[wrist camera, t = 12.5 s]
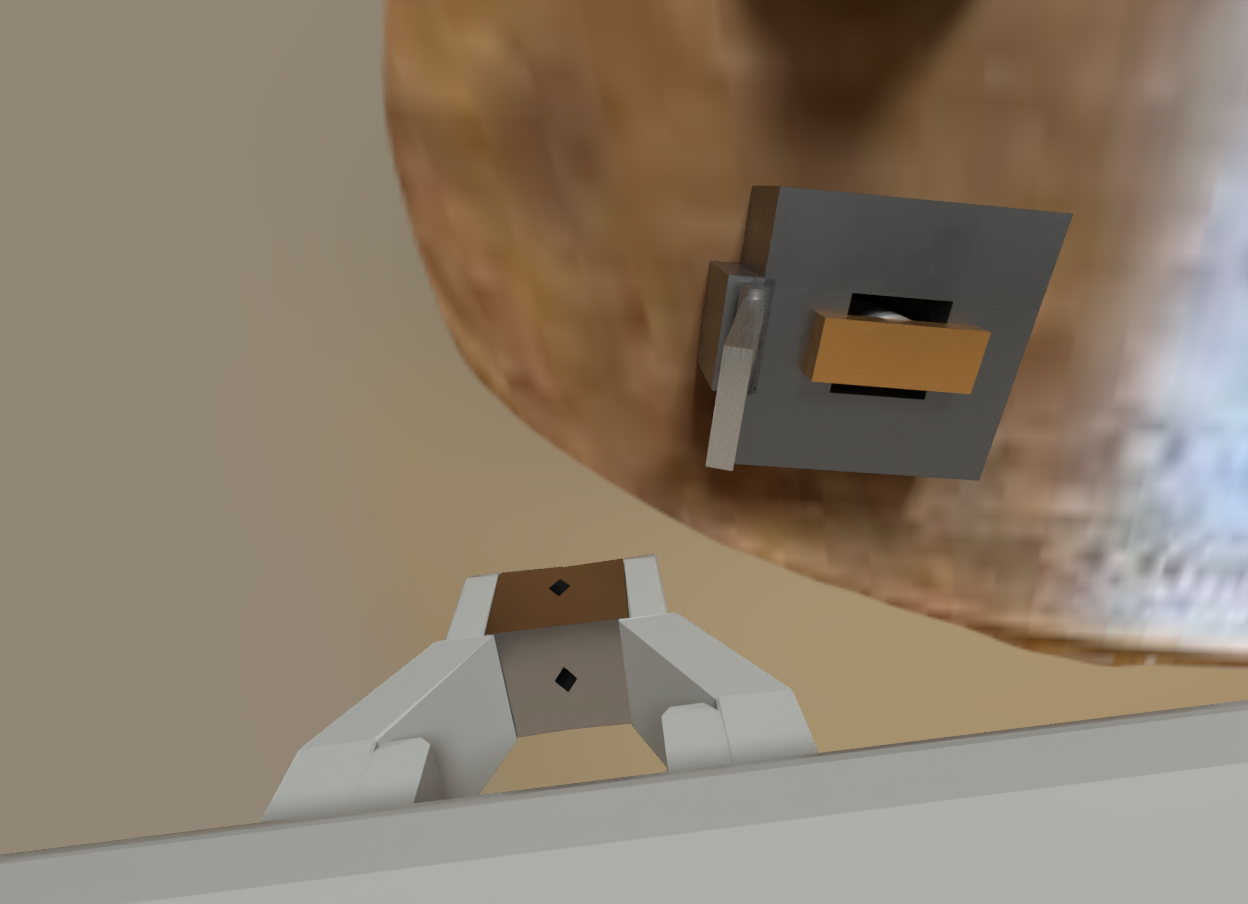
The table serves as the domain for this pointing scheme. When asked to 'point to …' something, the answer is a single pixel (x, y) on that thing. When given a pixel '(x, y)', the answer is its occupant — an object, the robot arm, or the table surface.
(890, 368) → the brown wooden block
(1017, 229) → the block
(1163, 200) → the table surface
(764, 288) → the latch bar
